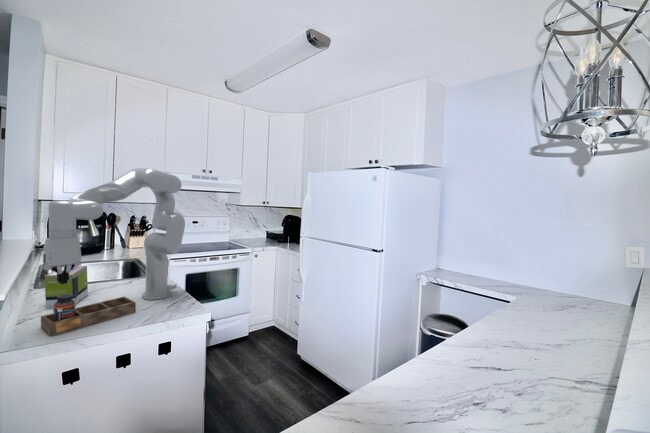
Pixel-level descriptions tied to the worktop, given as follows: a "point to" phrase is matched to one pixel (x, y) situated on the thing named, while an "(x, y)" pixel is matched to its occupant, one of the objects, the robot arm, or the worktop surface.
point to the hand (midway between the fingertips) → (63, 283)
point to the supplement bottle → (64, 308)
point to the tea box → (66, 286)
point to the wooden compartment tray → (89, 315)
